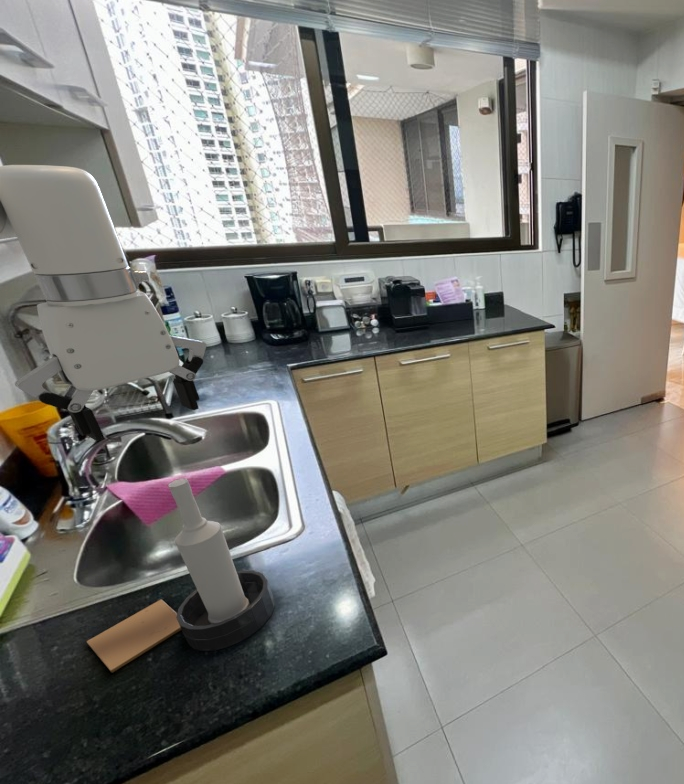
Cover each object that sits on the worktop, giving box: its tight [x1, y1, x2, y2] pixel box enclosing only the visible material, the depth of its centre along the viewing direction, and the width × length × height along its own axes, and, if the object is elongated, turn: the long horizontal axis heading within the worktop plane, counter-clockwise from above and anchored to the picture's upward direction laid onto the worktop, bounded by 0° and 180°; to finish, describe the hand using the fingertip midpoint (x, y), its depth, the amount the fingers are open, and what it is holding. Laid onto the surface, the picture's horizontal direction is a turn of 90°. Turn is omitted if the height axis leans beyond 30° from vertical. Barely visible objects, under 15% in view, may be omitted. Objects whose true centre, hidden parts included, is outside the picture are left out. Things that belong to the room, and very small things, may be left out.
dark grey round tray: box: [176, 569, 276, 652], centre depth 72 cm, size 11×11×4 cm
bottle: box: [167, 478, 250, 624], centre depth 68 cm, size 5×5×25 cm
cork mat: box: [86, 599, 182, 673], centre depth 70 cm, size 9×9×1 cm
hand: (146, 421), depth 59 cm, fingers open, 9 cm apart
